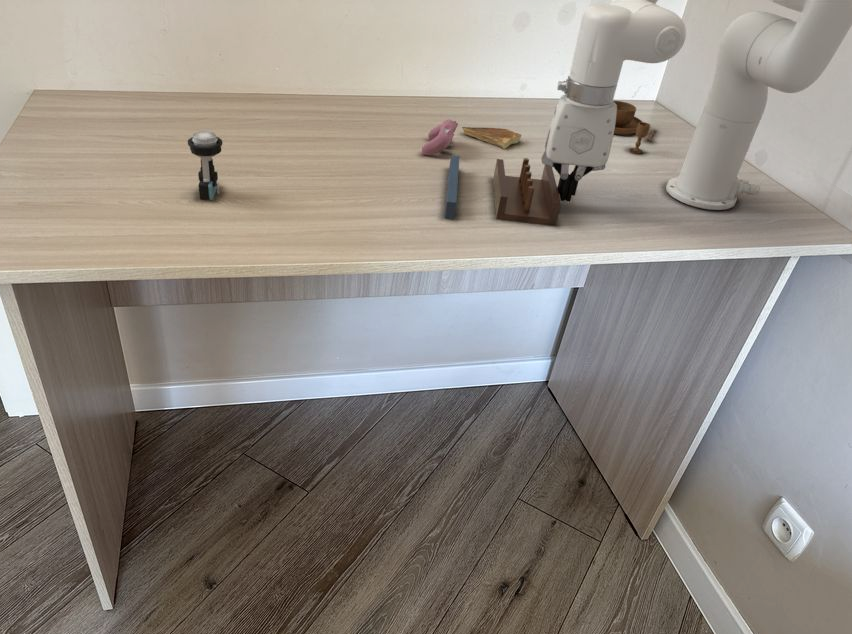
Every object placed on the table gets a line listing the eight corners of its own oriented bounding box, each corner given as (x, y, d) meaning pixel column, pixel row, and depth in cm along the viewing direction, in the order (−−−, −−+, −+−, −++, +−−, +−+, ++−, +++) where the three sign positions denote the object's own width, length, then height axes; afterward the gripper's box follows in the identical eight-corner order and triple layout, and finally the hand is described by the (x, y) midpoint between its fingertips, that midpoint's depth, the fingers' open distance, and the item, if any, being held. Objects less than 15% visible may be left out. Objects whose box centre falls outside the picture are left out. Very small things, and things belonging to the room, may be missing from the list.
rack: (546, 186, 128) (553, 157, 124) (555, 226, 115) (563, 195, 112) (492, 180, 128) (498, 151, 124) (496, 219, 115) (502, 188, 112)
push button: (197, 182, 117) (191, 125, 111) (229, 184, 117) (225, 127, 111) (190, 200, 112) (184, 140, 106) (223, 201, 112) (219, 142, 106)
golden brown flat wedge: (460, 133, 145) (462, 125, 144) (481, 126, 150) (482, 118, 149) (503, 149, 140) (504, 141, 139) (523, 141, 145) (524, 132, 144)
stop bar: (457, 171, 130) (459, 156, 128) (454, 219, 114) (456, 202, 112) (448, 170, 130) (451, 155, 128) (444, 218, 114) (446, 201, 112)
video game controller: (438, 166, 135) (458, 137, 130) (418, 152, 134) (438, 123, 130) (444, 148, 142) (464, 120, 138) (426, 135, 142) (445, 107, 137)
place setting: (658, 128, 158) (666, 102, 155) (644, 155, 144) (652, 128, 140) (583, 111, 164) (590, 86, 160) (562, 136, 149) (569, 109, 145)
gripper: (545, 95, 106) (523, 203, 118) (642, 104, 106) (610, 212, 117) (541, 80, 112) (520, 185, 123) (633, 89, 112) (604, 193, 123)
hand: (564, 198), depth 120 cm, fingers closed
